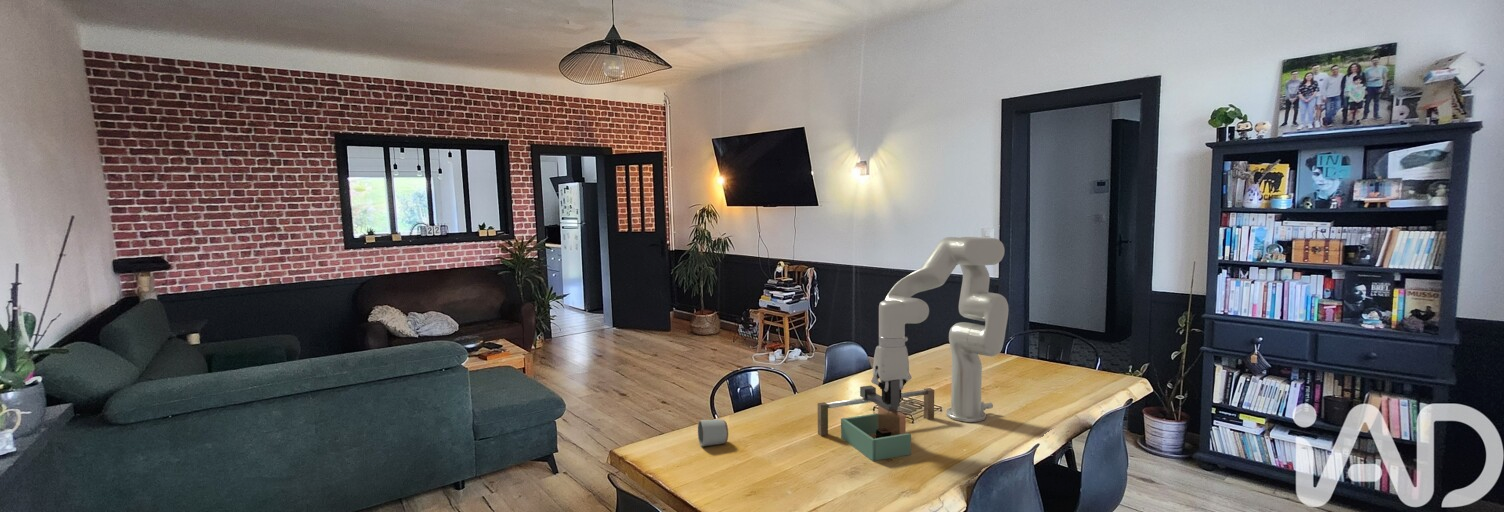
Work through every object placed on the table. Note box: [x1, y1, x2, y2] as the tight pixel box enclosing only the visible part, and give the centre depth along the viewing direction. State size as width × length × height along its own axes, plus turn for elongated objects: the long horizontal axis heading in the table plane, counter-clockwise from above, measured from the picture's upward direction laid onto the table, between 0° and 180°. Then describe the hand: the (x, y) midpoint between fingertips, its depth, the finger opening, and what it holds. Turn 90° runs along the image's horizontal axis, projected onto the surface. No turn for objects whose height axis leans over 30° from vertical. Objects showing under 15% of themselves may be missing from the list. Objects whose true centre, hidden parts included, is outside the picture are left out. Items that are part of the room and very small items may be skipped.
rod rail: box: [817, 387, 935, 437], centre depth 207 cm, size 41×2×10 cm, turn 109°
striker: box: [859, 380, 907, 436], centre depth 196 cm, size 4×22×18 cm, turn 19°
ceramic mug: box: [697, 418, 729, 447], centre depth 196 cm, size 11×8×8 cm
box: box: [840, 412, 912, 462], centre depth 191 cm, size 12×19×6 cm, turn 19°
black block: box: [872, 428, 892, 439], centre depth 192 cm, size 12×7×5 cm, turn 20°
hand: (891, 401), depth 192 cm, fingers closed on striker, 3 cm apart
